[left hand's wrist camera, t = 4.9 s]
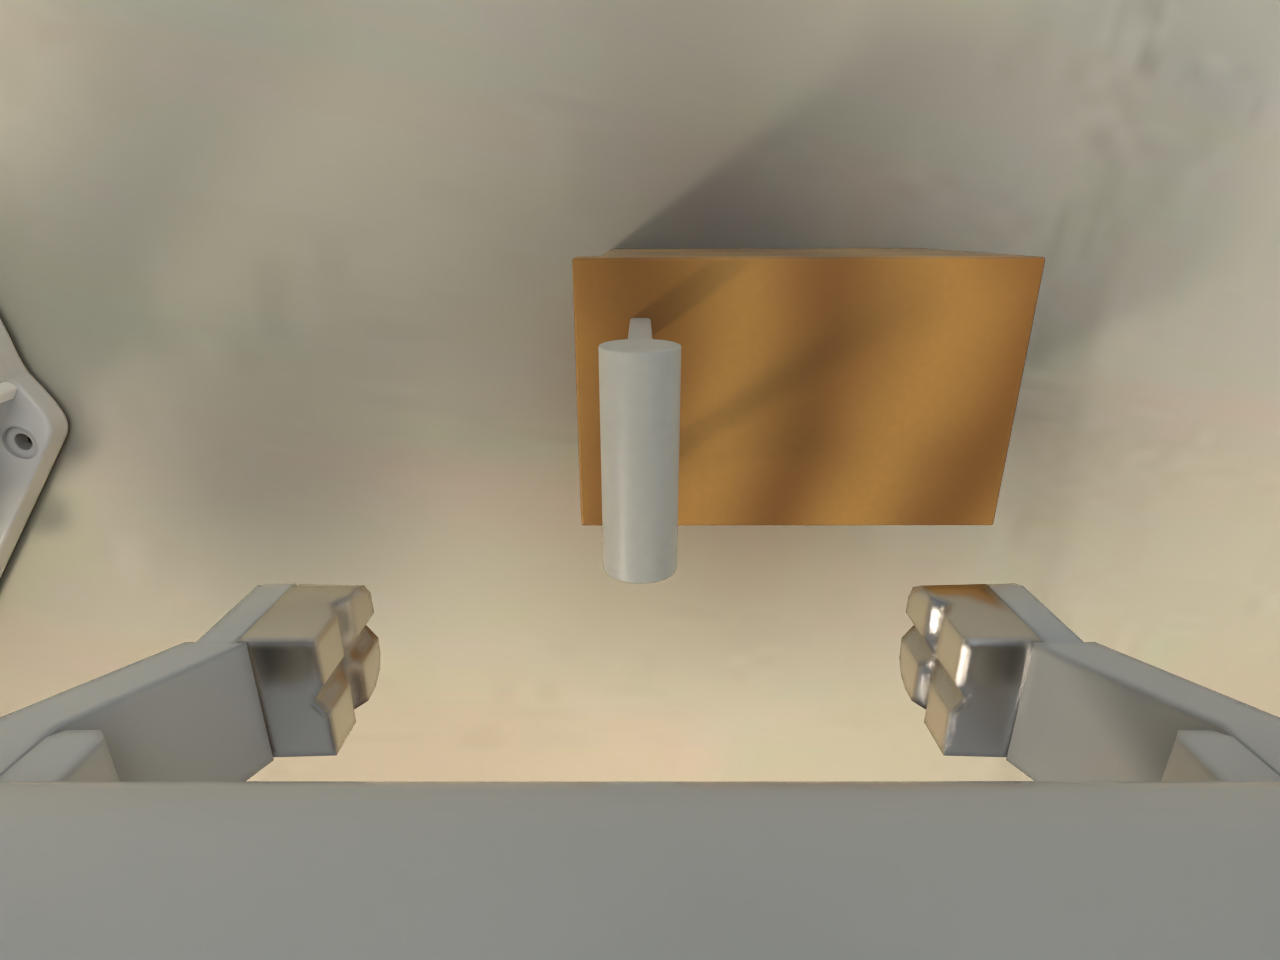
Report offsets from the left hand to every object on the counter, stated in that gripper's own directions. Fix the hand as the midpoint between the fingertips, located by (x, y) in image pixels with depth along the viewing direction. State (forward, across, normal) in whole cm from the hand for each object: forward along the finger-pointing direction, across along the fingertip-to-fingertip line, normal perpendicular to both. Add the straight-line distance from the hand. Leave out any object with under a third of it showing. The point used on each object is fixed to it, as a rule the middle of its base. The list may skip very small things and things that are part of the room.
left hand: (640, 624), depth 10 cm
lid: (+16, -6, 0) cm, 17 cm away
